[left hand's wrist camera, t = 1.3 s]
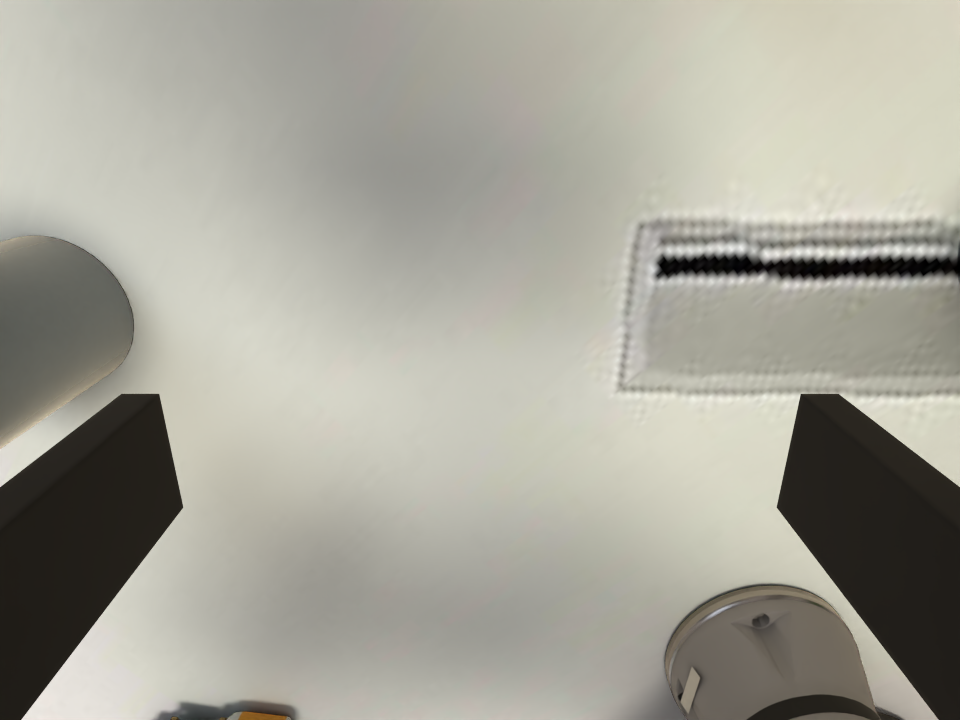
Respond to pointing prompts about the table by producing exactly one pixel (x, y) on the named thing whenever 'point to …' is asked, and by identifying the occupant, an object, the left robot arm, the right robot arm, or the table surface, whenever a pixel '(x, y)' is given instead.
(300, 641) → the table surface
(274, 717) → the spray gun
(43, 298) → the jar
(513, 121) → the table surface
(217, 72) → the table surface
